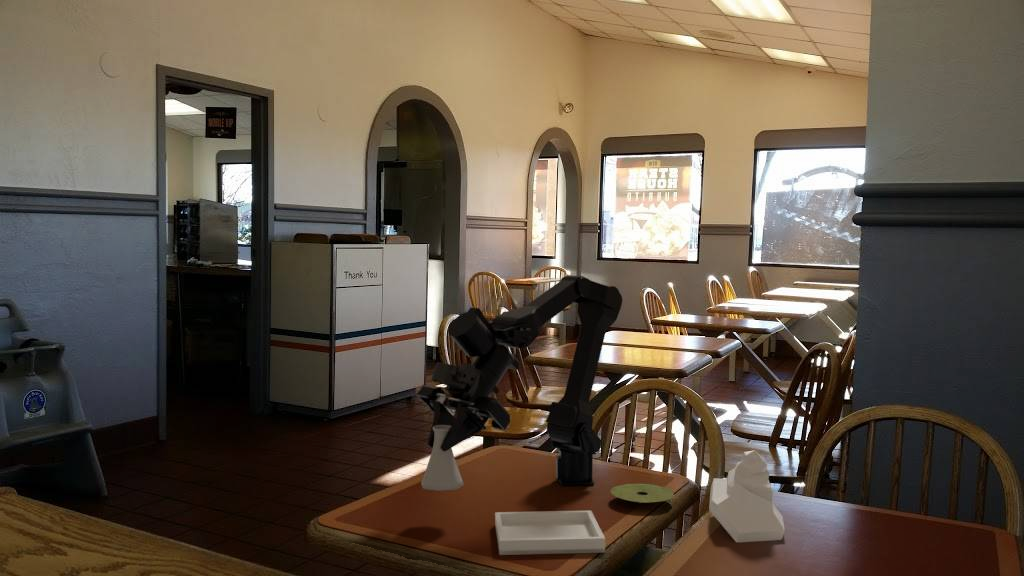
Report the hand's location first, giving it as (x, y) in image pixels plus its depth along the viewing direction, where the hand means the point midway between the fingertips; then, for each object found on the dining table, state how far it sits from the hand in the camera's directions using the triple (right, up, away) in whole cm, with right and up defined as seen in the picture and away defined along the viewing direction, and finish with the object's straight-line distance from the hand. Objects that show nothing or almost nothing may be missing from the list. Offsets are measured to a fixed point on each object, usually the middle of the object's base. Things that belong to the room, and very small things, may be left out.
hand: (435, 448), depth 138 cm
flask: (+1, -7, +1) cm, 7 cm away
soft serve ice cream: (+51, -13, -1) cm, 53 cm away
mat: (+36, -12, +12) cm, 40 cm away
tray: (+18, -13, -6) cm, 23 cm away
